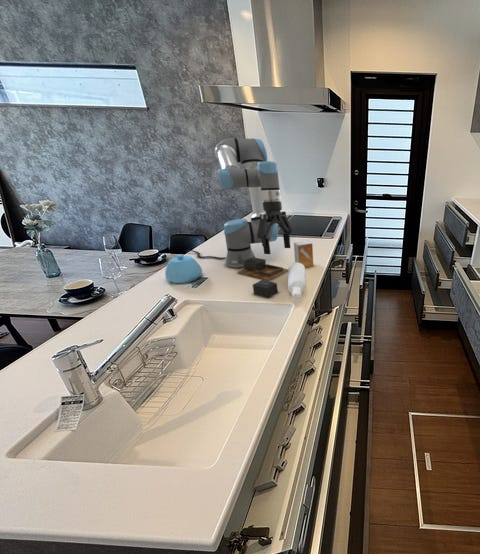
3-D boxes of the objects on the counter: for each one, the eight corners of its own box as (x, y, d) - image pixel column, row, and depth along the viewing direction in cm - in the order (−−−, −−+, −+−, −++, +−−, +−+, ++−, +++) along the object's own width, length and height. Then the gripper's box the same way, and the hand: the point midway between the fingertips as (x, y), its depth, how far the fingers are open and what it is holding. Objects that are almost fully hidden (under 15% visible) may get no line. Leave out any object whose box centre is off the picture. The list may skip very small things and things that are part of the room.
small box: (299, 269, 159) (297, 245, 154) (295, 265, 164) (293, 242, 159) (313, 266, 163) (312, 243, 158) (309, 262, 168) (307, 240, 163)
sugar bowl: (159, 281, 141) (152, 257, 136) (187, 270, 154) (182, 248, 149) (183, 286, 136) (177, 262, 131) (210, 274, 149) (205, 252, 144)
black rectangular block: (253, 294, 131) (252, 284, 129) (263, 288, 136) (262, 279, 134) (268, 297, 128) (267, 287, 126) (277, 292, 133) (276, 282, 131)
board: (237, 273, 152) (236, 262, 150) (258, 264, 164) (256, 254, 161) (269, 280, 144) (267, 270, 142) (288, 271, 156) (287, 261, 154)
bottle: (289, 277, 148) (287, 307, 122) (288, 262, 145) (285, 289, 118) (306, 276, 150) (307, 305, 123) (305, 261, 147) (306, 288, 120)
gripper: (257, 202, 114) (265, 257, 120) (296, 199, 136) (301, 246, 142) (242, 202, 117) (250, 256, 123) (283, 199, 139) (288, 245, 145)
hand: (277, 250), depth 133 cm, fingers open, 13 cm apart
